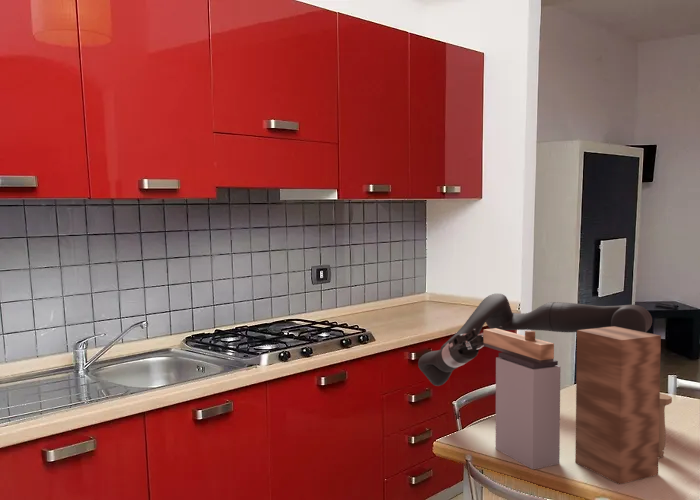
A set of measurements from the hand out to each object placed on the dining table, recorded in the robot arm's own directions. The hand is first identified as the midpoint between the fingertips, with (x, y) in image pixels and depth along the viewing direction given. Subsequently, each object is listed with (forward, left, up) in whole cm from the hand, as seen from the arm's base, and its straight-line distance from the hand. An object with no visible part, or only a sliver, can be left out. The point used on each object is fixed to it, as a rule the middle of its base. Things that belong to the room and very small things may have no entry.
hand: (489, 331), depth 159 cm
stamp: (-1, +10, -4) cm, 11 cm away
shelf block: (-15, +29, -29) cm, 43 cm away
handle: (-30, +27, -29) cm, 50 cm away
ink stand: (-1, +14, -29) cm, 32 cm away
